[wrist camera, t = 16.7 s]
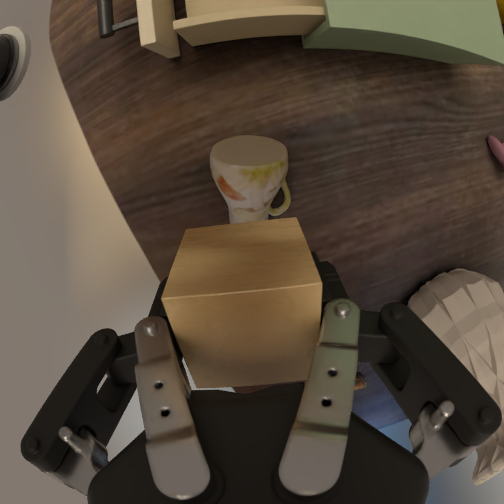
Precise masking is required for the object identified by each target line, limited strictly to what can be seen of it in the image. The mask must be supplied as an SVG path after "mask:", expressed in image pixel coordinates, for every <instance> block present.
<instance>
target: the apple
mask: <svg viewBox="0 0 504 504" xmlns="http://www.w3.org/2000/svg"><path fill="white" fill-rule="evenodd" d="M496 3H497V7H498V11H499V16H500V20H501V23H502V24H504V0H496Z"/></svg>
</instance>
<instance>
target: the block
mask: <svg viewBox="0 0 504 504" xmlns="http://www.w3.org/2000/svg"><path fill="white" fill-rule="evenodd" d="M322 286H323V283H322V280H321V278H320V275H319V273H318V270H317V267H316V265H315V262H314V260H313V257H312V255H311V252H310V250H309V247H308V245H307V242H306V240H305V237H304V235H303V232H302V230H301V227H300V225H299V222H298V220H297V218H296V217H294V218H283V219H273V220H263V221H253V222H244V223H235V224H226V225H217V226H208V227H199V228H191V229H186V231H185V233H184V236H183V239H182V241H181V244H180V247H179V249H178V252H177V255H176V257H175V260H174V263H173V266H172V269H171V271H170V274H169V277H168V280H167V283H166V286H165V289H164V291H163V294H162V297H161V300H162V302H163V305H164V308H165V311H166V313H167V316H168V319H169V322H170V324H171V327H172V330H173V332H174V335H175V337H176V340H177V342H178V345H179V347H180V350H181V352H182V355H183V357H184V360H185V362H186V365H187V367H188V369H189V371H190V374H191V376H192V378H193V381H194V383H195V385H196V388H217V387H218V388H219V387H238V386H253V385H264V384H275V383H284V382H292V381H300V380H307V376H308V373H309V369H310V365H311V361H312V357H313V353H314V348H315V344H316V342H318V339H319V334H320V321H321V305H322Z"/></svg>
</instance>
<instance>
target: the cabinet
mask: <svg viewBox="0 0 504 504" xmlns="http://www.w3.org/2000/svg"><path fill="white" fill-rule="evenodd" d="M323 5H324V11H325V17H326V21H324V22H323V23H322V24H321V25H320V26H319V27H318V28H317V29H316V30H314V31H313V32H312V33H311V34H310V35H301V36H302V44H303V48H327V49H352V50H366V51H376V52H385V53H393V54H401V55H407V56H413V57H419V58H424V59H429V60H434V61H439V62H443V63H448V64H483V65H501V66H502V65H503V66H504V36H503V31H502V25H501V20H500V16H499V11H498V7H497V3H496V0H323Z"/></svg>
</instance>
